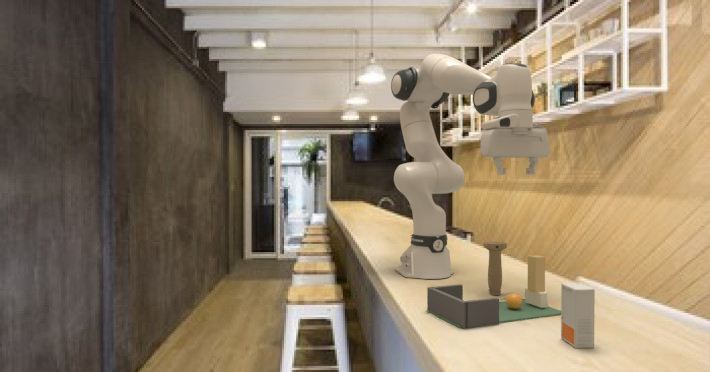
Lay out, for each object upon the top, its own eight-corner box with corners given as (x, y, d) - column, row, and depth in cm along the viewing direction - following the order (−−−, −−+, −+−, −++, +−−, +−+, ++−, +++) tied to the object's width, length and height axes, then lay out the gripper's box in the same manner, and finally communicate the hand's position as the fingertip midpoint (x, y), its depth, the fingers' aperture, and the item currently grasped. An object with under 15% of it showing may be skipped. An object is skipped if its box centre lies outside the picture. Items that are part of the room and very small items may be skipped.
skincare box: (560, 338, 108) (560, 282, 107) (579, 338, 108) (579, 282, 108) (574, 348, 102) (575, 289, 101) (595, 348, 102) (595, 288, 102)
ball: (502, 307, 131) (502, 292, 131) (515, 306, 132) (515, 291, 132) (512, 311, 127) (512, 296, 127) (525, 310, 128) (525, 294, 128)
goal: (427, 310, 130) (427, 287, 130) (460, 306, 133) (460, 284, 133) (463, 329, 114) (463, 302, 114) (499, 324, 118) (499, 298, 118)
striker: (523, 302, 134) (523, 254, 134) (532, 301, 135) (533, 254, 135) (539, 307, 129) (539, 258, 128) (548, 306, 130) (549, 257, 129)
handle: (508, 296, 144) (508, 244, 144) (485, 296, 144) (485, 244, 144) (504, 292, 149) (504, 241, 148) (482, 292, 149) (482, 241, 149)
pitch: (427, 311, 129) (427, 309, 129) (525, 300, 140) (525, 298, 140) (459, 328, 115) (459, 326, 115) (566, 314, 126) (566, 312, 126)
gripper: (538, 125, 143) (539, 174, 142) (476, 123, 135) (477, 175, 135) (554, 122, 137) (555, 174, 137) (491, 120, 129) (492, 174, 129)
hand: (516, 174), depth 136 cm, fingers open, 8 cm apart
